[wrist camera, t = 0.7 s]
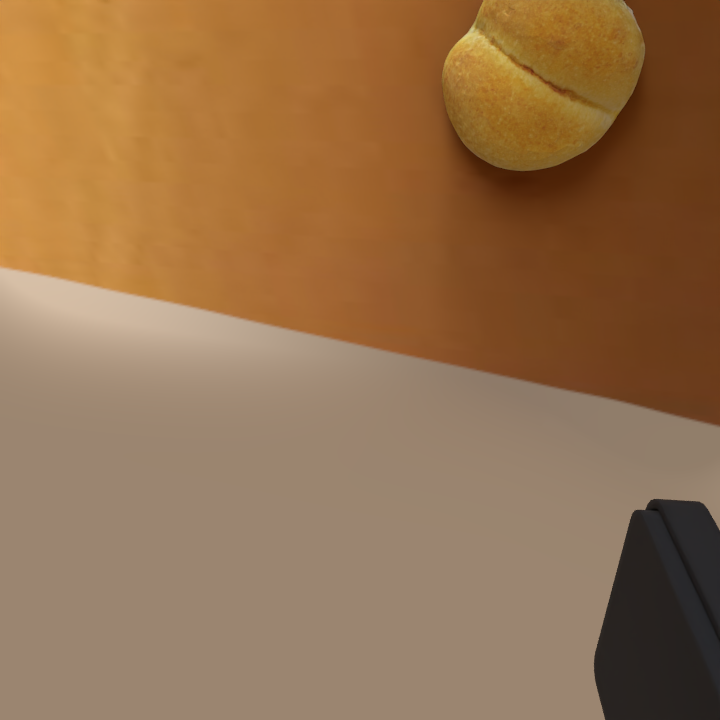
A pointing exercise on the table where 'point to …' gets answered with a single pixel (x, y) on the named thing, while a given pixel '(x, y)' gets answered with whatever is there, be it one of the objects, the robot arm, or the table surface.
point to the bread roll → (541, 78)
